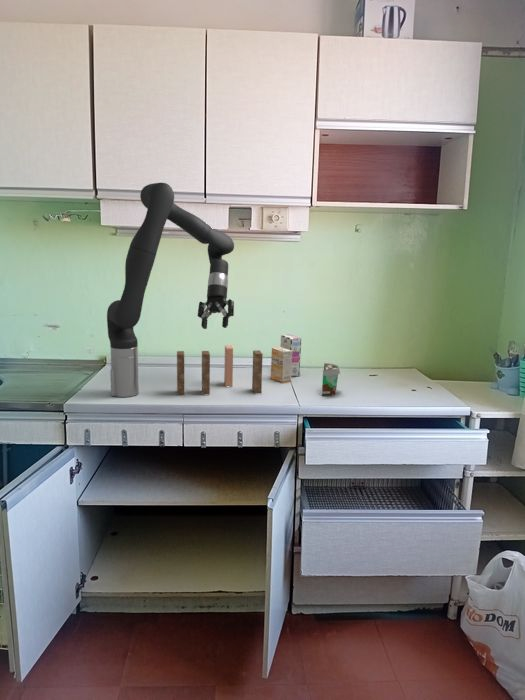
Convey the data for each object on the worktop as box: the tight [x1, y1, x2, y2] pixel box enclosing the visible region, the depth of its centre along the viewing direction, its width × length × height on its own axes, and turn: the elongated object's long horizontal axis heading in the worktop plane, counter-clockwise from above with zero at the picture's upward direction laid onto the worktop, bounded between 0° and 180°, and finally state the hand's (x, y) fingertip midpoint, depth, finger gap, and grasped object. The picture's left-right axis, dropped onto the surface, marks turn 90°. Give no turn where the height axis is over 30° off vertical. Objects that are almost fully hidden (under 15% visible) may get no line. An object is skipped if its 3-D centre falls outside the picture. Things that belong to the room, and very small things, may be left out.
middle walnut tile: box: [201, 350, 211, 395], centre depth 179 cm, size 2×6×15 cm, turn 10°
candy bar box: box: [280, 334, 302, 378], centre depth 210 cm, size 11×5×16 cm, turn 21°
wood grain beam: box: [251, 349, 264, 394], centre depth 182 cm, size 2×6×15 cm, turn 10°
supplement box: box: [270, 346, 293, 384], centre depth 199 cm, size 8×5×13 cm, turn 36°
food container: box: [321, 362, 341, 397], centre depth 184 cm, size 12×6×10 cm, turn 171°
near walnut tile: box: [176, 350, 185, 396], centre depth 177 cm, size 2×6×15 cm, turn 10°
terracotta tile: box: [223, 345, 234, 387], centre depth 190 cm, size 2×6×15 cm, turn 10°
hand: (214, 328), depth 184 cm, fingers open, 8 cm apart
